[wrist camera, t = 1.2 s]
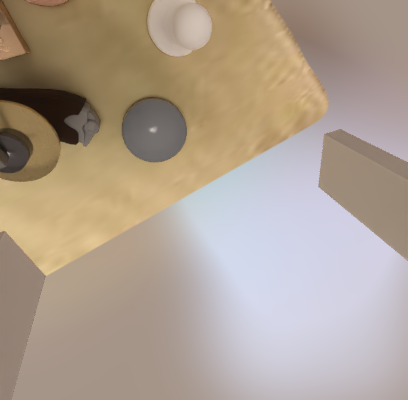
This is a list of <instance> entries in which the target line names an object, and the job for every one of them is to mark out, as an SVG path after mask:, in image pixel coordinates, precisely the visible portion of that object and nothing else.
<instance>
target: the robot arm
mask: <svg viewBox="0 0 408 400" xmlns="http://www.w3.org/2000/svg"><path fill="white" fill-rule="evenodd" d="M319 187H320V188H321V189H322V190H323V191H324V192H325V193H327V194H328V195H329V196H330V197H331V198H333V199H334V200H335V201H336V202H338V203H339V204H340V205H341V206H342V207H344V208H345V209H346V210H347V211H348V212H350V213H351V214H352V215H353V216H354V217H356V218H357V219H358V220H359V221H360V222H362V223H363V224H364V225H365V226H367V227H368V228H369V229H370V230H371V231H372V232H374V233H375V234H376V235H377V236H378V237H380V238H381V239H382V240H383V241H385V242H386V243H387V244H388V245H389V246H391V247H392V248H393V249H394V250H395V251H397V252H398V253H399V254H400V255H401V256H403V257H404V258H405V259H406V260H407V261H408V162H406V161H404V160H402V159H400V158H398V157H396V156H393V155H392V154H390V153H388V152H386V151H384V150H382V149H380V148H378V147H375V146H373V145H371V144H369V143H367V142H365V141H363V140H361V139H359V138H357V137H355V136H353V135H351V134H349V133H347V132H345V131H343V130H341V129H340V130H336V131H333V132H330V133H326V134H324V141H323V150H322V159H321V169H320V178H319ZM45 277H46V276H45V275H44V274H43V273H42V271H41V270H40V269H39V268H38V267H37V266H36V265H35V264H34V263H33V261H32V260H31V259H30V258H29V257H28V256H27V255H26V254H25V253H24V252H23V250H22V249H21V248H20V247H19V246H18V245H17V244H16V243H15V242H14V240H13V239H12V238H11V237H10V236H9V235H8V234H7V233H6V232H5V231H3V232H0V400H11V399H12V396H13V392H14V389H15V385H16V381H17V377H18V374H19V370H20V367H21V363H22V360H23V356H24V352H25V349H26V345H27V342H28V338H29V334H30V331H31V327H32V324H33V320H34V316H35V313H36V309H37V305H38V302H39V298H40V295H41V291H42V287H43V284H44V280H45Z"/></svg>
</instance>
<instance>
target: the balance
mask: <svg viewBox="0 0 408 400" xmlns="http://www.w3.org/2000/svg"><path fill="white" fill-rule="evenodd" d="M28 52H30V51H29V49H28V47H27V45H26V44H25V42H24V40H23V38H22V36H21V35H20V33H19V31H18V29H17V27H16V26H15V24H14V22H13V20H12V19H11V17H10V15H9V13H8V11H7V10H6V8H5V6H4V4H3V2H2V1H1V0H0V60H3V59H7V58H11V57H14V56H18V55H21V54H25V53H28ZM60 151H61V146H60V140H59V137H58V135H57V133H56V131H55V129H54V128H53V126H52V125H51V124H50V123H49V121H48V120H47V119H46V118H44V117H43V116H42V115H41V114H39V113H38V112H37V111H35V110H33V109H32V108H30V107H27V106H25V105H23V104H20V103H16V102H12V101H6V100H0V178H2V179H5V180H10V181H18V182H25V181H33V180H37V179H39V178H42V177H44V176H46V175H47V174H48V173H50V172H51V171H52V170H53V169H54V167H55V166H56V164H57V162H58V159H59V156H60Z"/></svg>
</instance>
